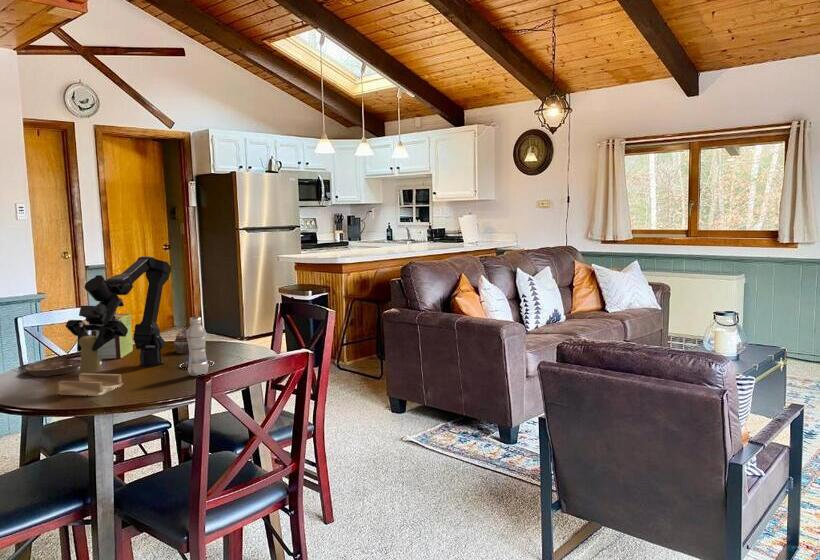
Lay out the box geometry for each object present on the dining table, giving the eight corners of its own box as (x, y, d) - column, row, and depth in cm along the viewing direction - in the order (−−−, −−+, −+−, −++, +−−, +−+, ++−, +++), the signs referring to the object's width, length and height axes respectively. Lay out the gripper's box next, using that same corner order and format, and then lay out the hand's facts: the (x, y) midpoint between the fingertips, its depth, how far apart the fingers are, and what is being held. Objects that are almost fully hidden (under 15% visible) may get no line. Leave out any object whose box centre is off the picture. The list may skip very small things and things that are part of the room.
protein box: (133, 350, 253) (130, 313, 251) (121, 358, 238) (118, 319, 236) (106, 351, 251) (104, 314, 250) (92, 360, 236) (89, 320, 235)
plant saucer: (29, 369, 224) (28, 361, 223) (84, 364, 231) (83, 356, 231) (21, 381, 208) (20, 372, 207) (80, 374, 215) (79, 366, 215)
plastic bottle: (212, 373, 211) (209, 316, 209) (200, 378, 205) (196, 319, 203) (197, 372, 214) (194, 315, 212) (184, 377, 207) (180, 319, 205)
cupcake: (181, 349, 254) (180, 325, 252) (203, 349, 252) (202, 325, 252) (170, 354, 244) (168, 329, 243) (193, 354, 243) (192, 329, 242)
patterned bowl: (220, 363, 229) (219, 349, 228) (203, 371, 217) (202, 356, 216) (191, 362, 231) (190, 348, 231) (172, 369, 220) (172, 355, 219)
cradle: (84, 384, 201) (83, 372, 201) (123, 385, 199) (122, 373, 198) (57, 394, 189) (56, 382, 189) (98, 395, 187) (97, 383, 187)
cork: (84, 373, 189) (81, 338, 188) (76, 370, 193) (73, 336, 192) (104, 369, 194) (101, 335, 193) (96, 366, 198) (93, 333, 197)
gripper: (66, 295, 196) (44, 335, 187) (119, 295, 193) (99, 336, 184) (85, 315, 205) (64, 355, 195) (136, 315, 202) (117, 356, 192)
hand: (85, 350), depth 192 cm, fingers closed on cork, 5 cm apart
